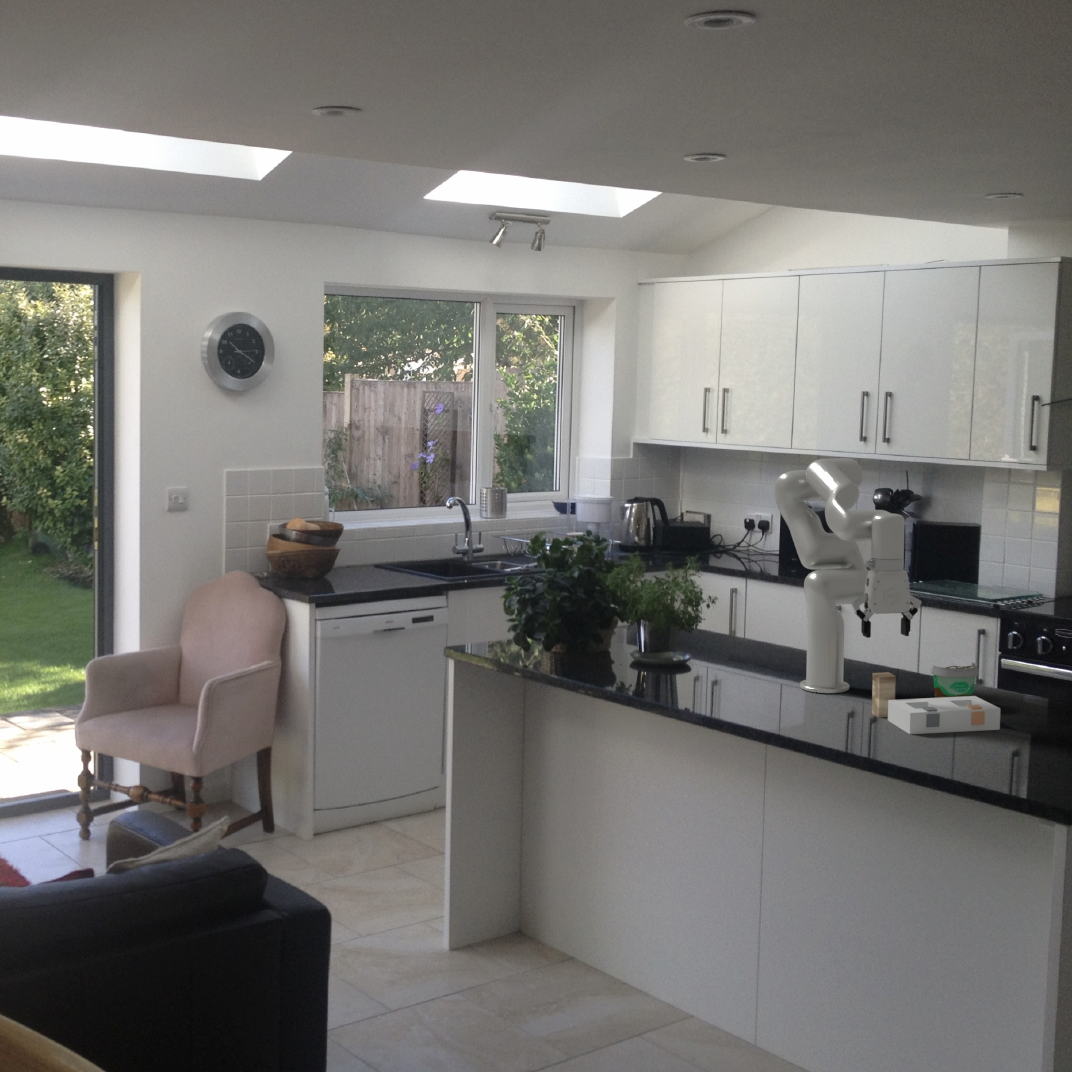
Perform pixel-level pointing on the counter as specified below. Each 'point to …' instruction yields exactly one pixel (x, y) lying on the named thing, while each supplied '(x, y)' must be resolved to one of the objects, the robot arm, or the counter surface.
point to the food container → (954, 680)
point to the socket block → (943, 715)
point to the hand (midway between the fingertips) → (885, 635)
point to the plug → (882, 693)
